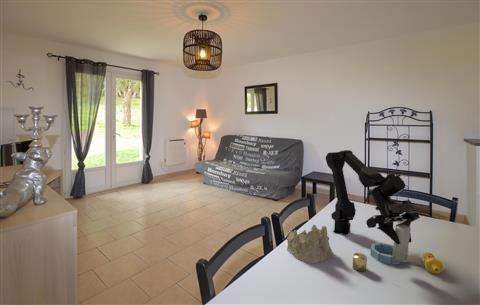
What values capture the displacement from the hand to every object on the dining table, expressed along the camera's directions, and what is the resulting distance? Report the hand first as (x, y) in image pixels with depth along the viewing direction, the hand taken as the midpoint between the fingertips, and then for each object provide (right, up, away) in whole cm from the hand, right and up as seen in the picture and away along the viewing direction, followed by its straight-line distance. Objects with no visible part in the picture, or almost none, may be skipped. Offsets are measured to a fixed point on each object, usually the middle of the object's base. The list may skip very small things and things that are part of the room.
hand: (404, 243), depth 89 cm
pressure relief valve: (+10, -12, +6) cm, 16 cm away
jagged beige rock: (-29, -10, +17) cm, 35 cm away
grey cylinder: (0, -6, +2) cm, 7 cm away
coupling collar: (+1, -10, +13) cm, 17 cm away
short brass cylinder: (-13, -12, +6) cm, 18 cm away
